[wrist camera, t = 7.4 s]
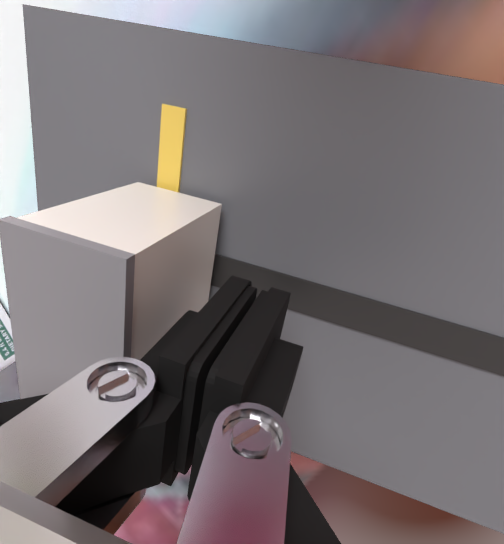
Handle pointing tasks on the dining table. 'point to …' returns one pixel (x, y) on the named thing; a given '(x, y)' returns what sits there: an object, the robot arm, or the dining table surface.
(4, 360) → the syrup box
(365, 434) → the console
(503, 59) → the dining table surface
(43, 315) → the block
